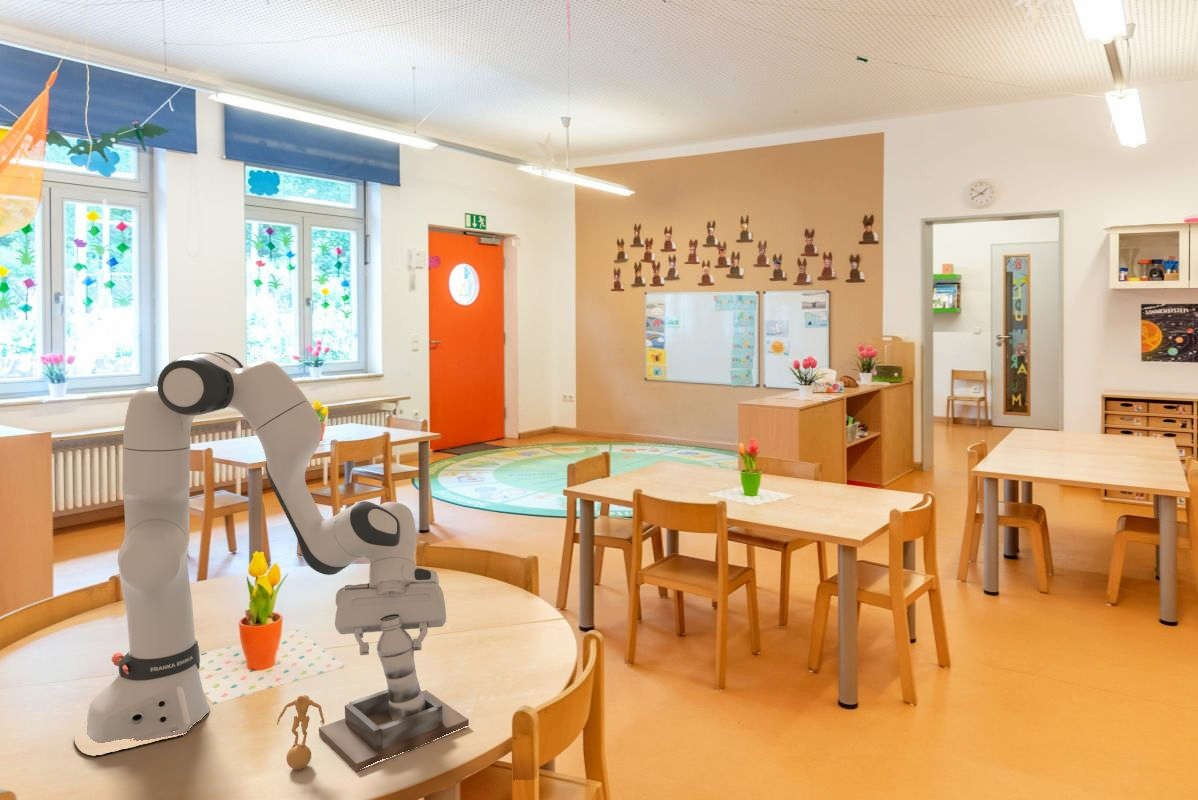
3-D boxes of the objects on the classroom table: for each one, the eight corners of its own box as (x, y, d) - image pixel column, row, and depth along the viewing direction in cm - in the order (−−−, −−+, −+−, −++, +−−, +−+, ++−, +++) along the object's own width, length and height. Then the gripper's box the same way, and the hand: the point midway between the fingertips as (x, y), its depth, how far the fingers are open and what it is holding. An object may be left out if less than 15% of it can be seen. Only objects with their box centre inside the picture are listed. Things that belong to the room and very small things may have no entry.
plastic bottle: (420, 728, 149) (399, 623, 147) (385, 730, 151) (365, 626, 149) (433, 710, 156) (414, 609, 153) (400, 712, 157) (380, 612, 155)
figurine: (270, 773, 140) (266, 706, 138) (286, 754, 146) (282, 689, 144) (318, 774, 139) (314, 707, 138) (332, 755, 145) (328, 690, 144)
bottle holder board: (356, 771, 140) (355, 744, 139) (319, 735, 152) (317, 709, 151) (468, 727, 154) (467, 701, 154) (426, 696, 166) (425, 673, 166)
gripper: (334, 578, 156) (329, 649, 147) (445, 571, 159) (446, 640, 151) (338, 593, 160) (334, 663, 152) (446, 585, 164) (447, 653, 155)
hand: (390, 651), depth 151 cm, fingers open, 8 cm apart
